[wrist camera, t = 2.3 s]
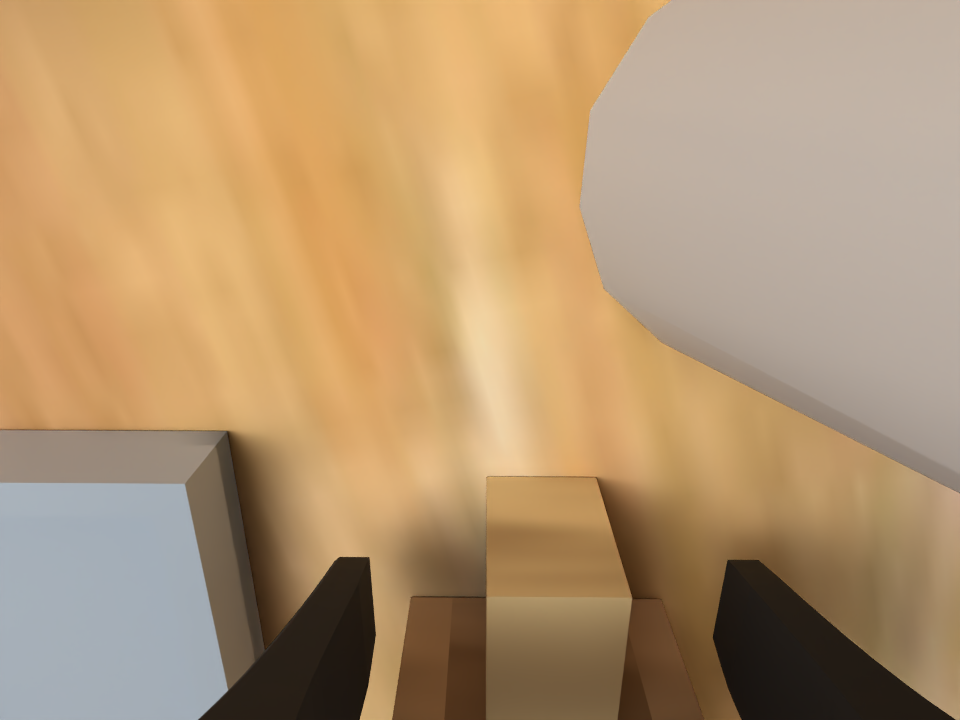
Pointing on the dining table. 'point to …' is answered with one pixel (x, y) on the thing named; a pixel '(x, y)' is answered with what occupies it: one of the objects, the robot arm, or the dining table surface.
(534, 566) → the wooden stool frame
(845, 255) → the salt shaker
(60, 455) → the tray
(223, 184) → the dining table surface
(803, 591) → the dining table surface
